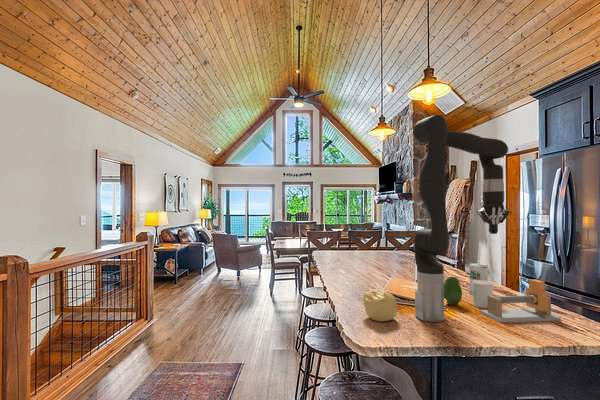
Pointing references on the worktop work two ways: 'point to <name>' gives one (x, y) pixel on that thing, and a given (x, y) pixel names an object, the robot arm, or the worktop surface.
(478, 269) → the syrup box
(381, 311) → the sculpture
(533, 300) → the pipe stand
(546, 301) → the collar
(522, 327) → the worktop surface
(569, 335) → the worktop surface
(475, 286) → the white cup
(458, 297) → the avocado
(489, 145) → the robot arm
